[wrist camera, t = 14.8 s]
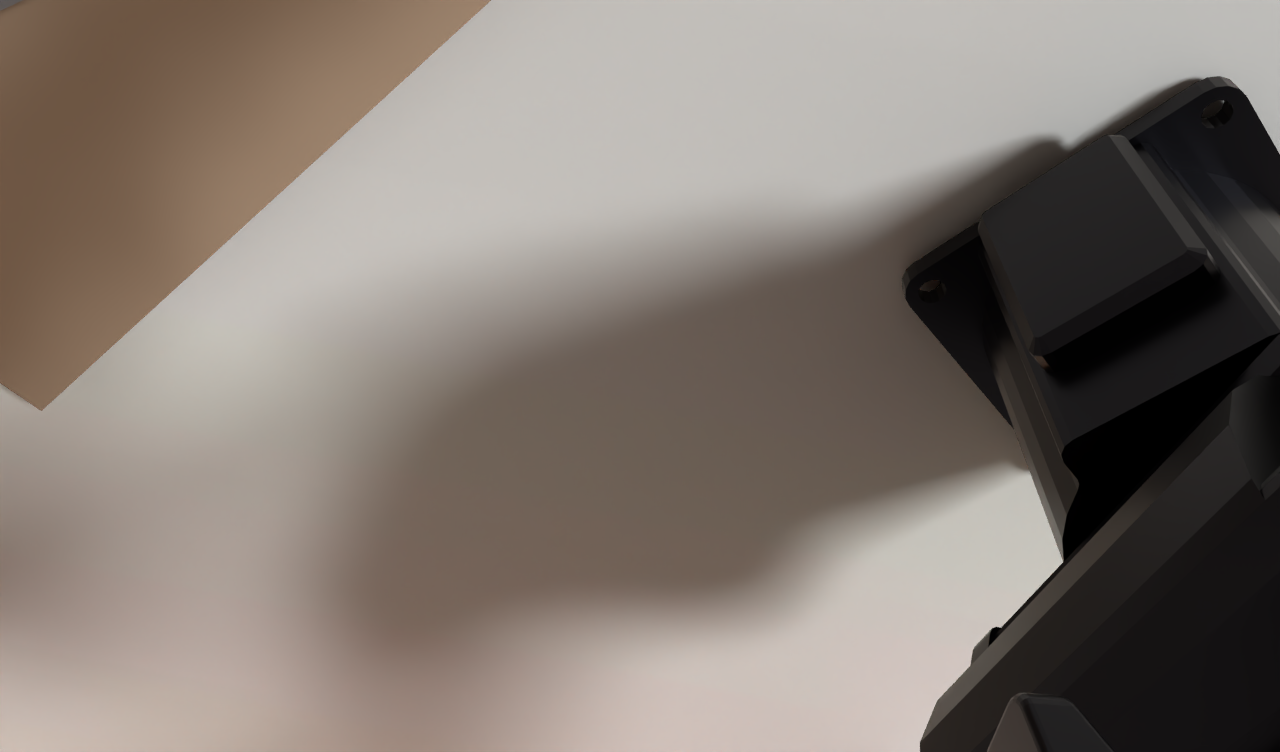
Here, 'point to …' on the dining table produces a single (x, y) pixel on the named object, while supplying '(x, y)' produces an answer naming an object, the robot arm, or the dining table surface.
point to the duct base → (165, 146)
